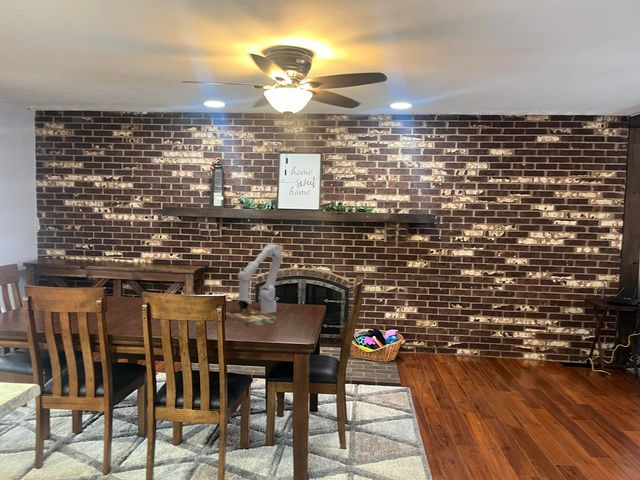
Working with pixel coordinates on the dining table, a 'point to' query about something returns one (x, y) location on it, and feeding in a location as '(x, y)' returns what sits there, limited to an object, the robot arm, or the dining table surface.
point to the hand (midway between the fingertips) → (243, 313)
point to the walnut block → (246, 312)
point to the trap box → (254, 318)
